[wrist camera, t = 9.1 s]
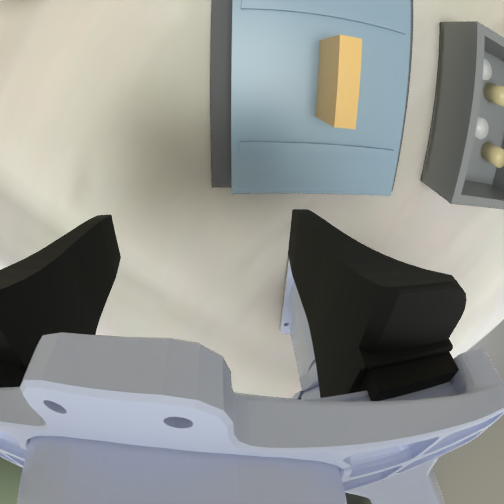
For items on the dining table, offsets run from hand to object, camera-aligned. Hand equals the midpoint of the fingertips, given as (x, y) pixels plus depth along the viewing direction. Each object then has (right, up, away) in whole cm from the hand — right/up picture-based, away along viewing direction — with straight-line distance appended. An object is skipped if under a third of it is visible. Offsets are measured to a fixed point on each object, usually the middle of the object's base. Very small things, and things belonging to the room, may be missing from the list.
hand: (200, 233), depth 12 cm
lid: (+6, +11, +5) cm, 14 cm away
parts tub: (+21, +11, +7) cm, 25 cm away
